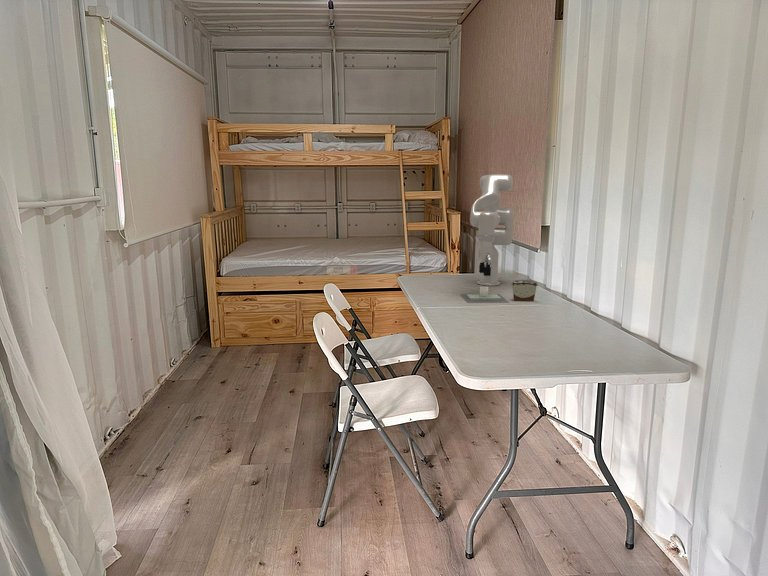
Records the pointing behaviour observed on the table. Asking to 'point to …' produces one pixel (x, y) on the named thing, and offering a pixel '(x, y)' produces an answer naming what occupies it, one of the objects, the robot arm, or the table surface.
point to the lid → (483, 295)
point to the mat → (484, 300)
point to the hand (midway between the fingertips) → (484, 274)
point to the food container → (524, 290)
